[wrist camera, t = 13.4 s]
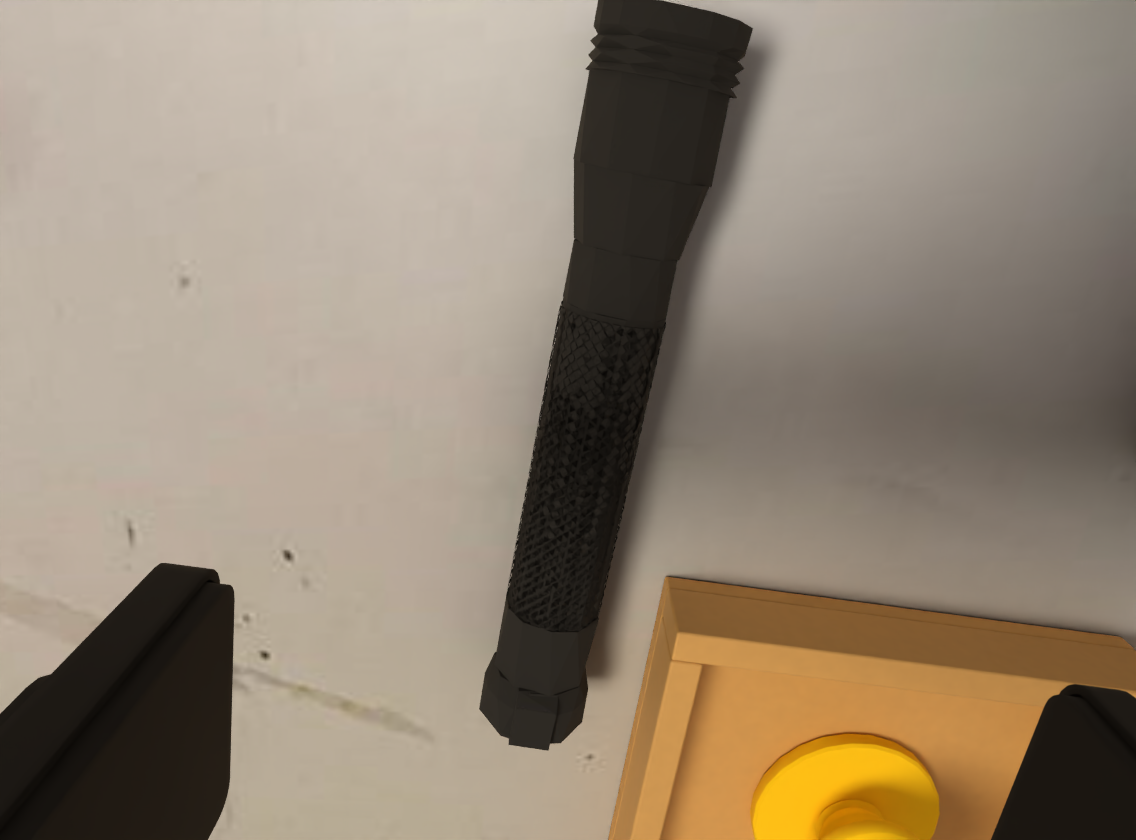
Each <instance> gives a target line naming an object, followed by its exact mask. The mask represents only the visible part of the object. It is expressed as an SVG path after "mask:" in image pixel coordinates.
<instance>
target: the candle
mask: <svg viewBox="0 0 1136 840" xmlns="http://www.w3.org/2000/svg"><path fill="white" fill-rule="evenodd" d="M939 815H940V811H939V795H938V793H937V790H936V788H935V785H934V783H933V781H932V778H931V776H930V775H929V773H928V771H927V769H926V768H925V766H924V765H923V764H922V763H921V762H920V761H919V760H918V759H917V757H916V756H915V755H914V754H913V753H912V752H910V751H908V750H907V749H905V748H903V747H902V746H900V745H899V744H897V743H895V742H893V741H890V740H886V739H883V738H880V737H876V736H873V735H862V734H839V735H833V736H826V737H821V738H818V739H816V740H813V741H810V742H808V743H805V744H802V745H799V746H798V747H796V748H795V749H793V750H792V751H790V752H789V753H787V754H785V755H784V756H782V757H781V758H779V759H778V760H777V761H776V762H775V763H774V764H773V766H772V767H771V768H770V769H769V770H768V771H767V772H766V773H765V774H764V775H763V777H762V778H761V780H760V782H759V784H758V786H757V788H756V790H755V791H754V793H753V798H752V803H751V809H750V817H751V824H752V831H753V835H754V838H755V840H930V839H931V837H932V836H933V834H934V832H935V829H936V825H937V822H938V819H939Z"/></svg>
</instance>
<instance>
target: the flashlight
mask: <svg viewBox="0 0 1136 840" xmlns="http://www.w3.org/2000/svg"><path fill="white" fill-rule="evenodd" d="M594 27H595V29H596V31H597V33H598V35H597V36H595V37H594V38H593V39H592V40H590V41H591V42H592V43H593V44H594V45H595V47H596V48H595V49H594V50H593V51H592V52H591V53H590V54H589V56H590V58H591V59H592V60H593V61H592V62H591V63H590V64H589V66H588V67H587V68H586V70H590V72H589V77H588V83H587V88H586V94H585V99H584V105H583V110H582V115H581V121H580V126H579V132H578V137H577V143H576V148H575V154H574V159H575V160H574V238H575V240H574V244H573V249H572V254H571V259H570V264H569V269H568V274H567V279H566V284H565V289H564V294H563V297H564V298H563V301H562V302H561V305H562V306H560V309H559V312H560V313H558V319H559V320H557V324H556V329H555V333H556V335H555V334H554V338H556V341H555V339H554V340H553V345H554V349H553V348H552V349H553V351H554V352H553V351H552V352H551V356H552V359H551V356H550V361H549V367H550V370H548V371H549V373H548V374H549V378H548V374H547V378H548V380H547V378H546V383H545V389H546V387H547V389H546V391H545V392H544V395H543V400H542V401H544V402H543V404H542V406H541V412H540V414H542V415H540V416H541V420H540V417H539V421H538V423H539V425H540V426H538V428H537V432H536V434H537V436H538V437H536V439H535V444H534V448H535V449H534V450H535V451H534V450H533V452H534V453H533V456H534V458H533V459H532V460H533V462H532V461H531V462H532V463H531V464H530V466H531V467H532V469H530V471H531V472H530V471H529V473H530V475H529V477H530V478H529V479H528V482H529V483H528V482H527V487H528V488H527V491H526V493H525V496H524V498H525V497H526V495H527V497H526V499H525V501H524V503H523V508H524V512H523V511H522V515H521V518H520V523H519V529H520V530H519V529H518V530H519V531H520V532H519V531H518V536H519V537H518V536H517V538H518V540H517V543H516V546H517V549H516V552H515V553H514V554H515V555H516V556H515V555H514V556H515V559H514V557H513V559H514V560H513V563H512V567H513V569H511V573H510V577H511V574H512V577H511V579H510V580H509V581H510V582H509V583H510V586H509V588H508V591H507V594H506V595H507V596H506V602H505V607H504V613H503V619H502V624H501V630H500V636H499V641H498V647H497V652H495V653H494V655H493V657H492V660H491V662H490V664H489V666H488V668H487V670H486V672H485V677H484V683H483V689H482V696H481V702H480V708H479V709H480V710H481V712H482V713H483V714H484V715H485V717H486V718H487V719H488V720H489V722H490V723H491V724H492V725H493V727H494V728H495V729H496V730H497V732H498V733H499V734H500V735H501V736H504V737H507V738H509V745H515V746H521V747H528V748H535V749H541V750H549V745H550V744H552V743H561V742H562V741H563V740H564V739H565V738H566V737H567V736H568V735H569V734H570V733H571V732H572V731H573V730H574V729H575V728H576V727H577V726H578V725H579V724H580V723H581V722H582V719H583V713H584V708H585V702H586V697H587V692H588V684H587V677H586V669H585V665H586V661H587V658H588V654H589V651H590V647H591V644H592V640H593V637H594V633H595V630H596V626H597V622H598V619H599V618H598V615H599V614H598V612H600V611H599V610H600V609H599V608H601V606H600V603H602V602H601V601H602V599H603V597H602V596H604V592H603V591H604V590H605V588H604V586H605V587H606V585H605V583H606V582H607V580H606V577H607V578H608V576H607V573H608V572H609V569H610V564H611V560H612V558H613V551H614V549H615V547H614V545H615V544H614V543H615V542H616V540H615V538H616V539H617V535H616V534H617V533H618V530H619V528H620V527H619V526H618V525H620V521H621V519H622V512H623V510H622V508H623V509H624V505H623V504H624V503H625V501H626V500H625V499H626V497H625V494H626V493H627V491H628V485H629V481H630V478H631V473H632V469H633V466H634V465H633V464H634V460H635V456H636V451H637V447H638V444H639V443H638V442H639V440H638V439H639V436H640V433H641V430H642V424H643V421H644V414H645V411H646V408H647V402H648V399H649V393H650V389H651V382H652V380H653V377H654V372H655V367H656V365H657V357H658V355H659V352H660V348H659V347H660V345H661V342H662V336H663V333H664V329H665V326H666V322H665V320H666V315H667V310H668V305H669V300H670V294H671V289H672V284H673V279H674V274H675V269H676V264H677V260H679V259H680V257H681V254H682V252H683V249H684V247H685V245H686V242H687V240H688V237H689V235H690V232H691V230H692V228H693V225H694V223H695V220H696V218H697V215H698V213H699V211H700V208H701V206H702V203H703V201H704V198H705V196H706V194H707V191H708V189H709V187H711V186H712V181H713V176H714V171H715V166H716V162H717V157H718V152H719V147H720V142H721V137H722V132H723V127H724V122H725V117H726V112H727V108H728V103H729V98H737V97H736V96H735V94H734V92H733V91H732V89H731V88H733V87H735V86H737V85H738V84H740V82H739V81H738V79H737V77H736V76H735V75H736V74H737V73H739V72H740V71H742V70H743V69H744V68H743V67H742V65H741V64H740V63H739V62H738V61H739V60H741V59H742V58H743V57H744V56H745V53H746V50H747V46H748V43H749V40H750V36H751V33H752V29H753V28H751V27H749V26H748V25H746V24H744V23H743V22H741V21H739V20H736V19H733V18H730V17H727V16H724V15H721V14H718V13H715V12H711V11H706V10H702V9H697V8H693V7H688V6H684V5H679V4H675V3H670V2H666V1H660V0H598V5H597V11H596V16H595V22H594ZM561 308H562V309H561ZM559 316H560V318H559ZM557 327H558V330H557ZM554 342H555V344H554ZM553 345H552V346H553ZM552 353H553V355H552ZM550 363H551V366H550ZM549 367H548V369H549ZM545 389H544V390H545ZM544 399H545V400H544ZM535 446H536V447H535ZM524 506H525V507H524ZM523 508H522V510H523ZM620 518H621V519H620ZM521 519H522V520H521ZM521 521H522V523H521ZM520 527H521V528H520ZM517 544H518V545H517ZM516 546H515V548H516ZM613 547H614V549H613ZM513 564H514V566H513ZM512 567H511V568H512ZM508 585H509V584H508ZM601 605H602V604H601Z"/></svg>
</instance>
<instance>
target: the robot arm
mask: <svg viewBox="0 0 1136 840" xmlns="http://www.w3.org/2000/svg"><path fill="white" fill-rule="evenodd" d="M233 635H234V590H233V587H232V586H231V585H226V584H220V579H219V576H218V573H217V572H216V571H215V570H214V569H206V568H199V567H191V566H184V565H176V564H169V563H160V564H159V565H158V566H156V567H155V568H154V569H153V570H152V571H151V572H150V573H149V574H148V575H147V576H146V577H145V578H144V579H143V580H142V581H141V582H140V583H139V584H138V585H137V586H136V587H135V588H134V589H133V591H132V592H131V593H130V594H129V595H128V596H127V597H126V598H125V599H124V600H123V601H122V602H121V603H120V604H119V605H118V606H117V607H116V608H115V609H114V610H113V611H112V612H111V613H110V614H109V615H108V616H107V617H106V618H105V619H104V620H103V621H102V622H101V623H100V624H99V626H98V627H97V628H96V629H95V630H94V631H93V632H92V633H91V634H90V635H89V636H88V637H87V638H86V639H85V640H84V641H83V642H82V643H81V644H80V645H79V646H78V647H77V648H76V649H75V650H74V651H73V652H72V653H71V654H70V655H69V656H68V657H67V658H66V660H65V661H64V662H63V663H62V664H61V665H60V666H59V667H58V668H57V669H56V670H55V671H54V672H53V673H52V674H51V675H47V676H43V677H40V678H38V679H37V680H35V681H34V682H33V683H32V684H30V685H29V686H28V687H26V689H25V690H24V691H23V692H22V693H21V694H20V695H19V696H18V697H17V698H16V699H15V700H14V701H13V702H12V703H11V704H10V705H9V706H8V707H7V708H6V709H5V710H4V711H3V712H2V713H1V714H0V840H208V838H209V836H210V834H211V833H212V831H213V829H214V827H215V825H216V823H217V821H218V819H219V817H220V815H221V812H222V810H223V807H224V804H225V801H226V798H227V794H228V789H229V782H230V755H231V715H232V675H233ZM991 840H1136V698H1135V697H1134V696H1132V695H1131V694H1129V693H1128V692H1126V691H1122V690H1117V689H1109V688H1102V687H1094V686H1087V685H1079V684H1072V685H1068V686H1066V687H1065V688H1064V689H1063V690H1061V692H1060V694H1059V695H1054V696H1052V697H1051V698H1049V699H1048V701H1047V702H1046V704H1045V706H1044V708H1043V711H1042V713H1041V716H1040V718H1039V721H1038V723H1037V726H1036V728H1035V731H1034V733H1033V736H1032V738H1031V741H1030V743H1029V746H1028V748H1027V751H1026V753H1025V756H1024V758H1023V761H1022V763H1021V766H1020V768H1019V771H1018V773H1017V776H1016V778H1015V781H1014V783H1013V786H1012V788H1011V791H1010V793H1009V796H1008V798H1007V801H1006V803H1005V806H1004V808H1003V810H1002V813H1001V815H1000V818H999V820H998V823H997V825H996V828H995V830H994V833H993V835H992V838H991Z"/></svg>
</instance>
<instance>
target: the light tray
mask: <svg viewBox="0 0 1136 840" xmlns="http://www.w3.org/2000/svg"><path fill="white" fill-rule="evenodd" d="M1072 684H1079V685H1087V686H1094V687H1102V688H1109V689H1117V690H1122V691H1126V692H1128V693H1129V694H1131V695H1132V696H1134V697H1135V698H1136V651H1135V650H1134V649H1133V647H1132V646H1130V645H1129V644H1128V643H1127V642H1126V641H1125V640H1124V639H1123V638H1121V637H1117V636H1110V635H1102V634H1095V633H1087V632H1080V631H1072V630H1065V629H1057V628H1049V627H1042V626H1034V625H1027V624H1019V623H1012V622H1004V621H997V620H989V619H982V618H974V617H967V616H959V615H951V614H944V613H936V612H929V611H921V610H914V609H906V608H899V607H891V606H884V605H876V604H869V603H861V602H853V601H846V600H838V599H831V598H823V597H816V596H808V595H801V594H793V593H786V592H778V591H770V590H763V589H755V588H748V587H740V586H733V585H725V584H718V583H710V582H703V581H695V580H688V579H680V578H672V577H666V578H665V580H664V585H663V590H662V594H661V599H660V603H659V608H658V613H657V617H656V622H655V626H654V631H653V636H652V640H651V645H650V649H649V654H648V659H647V663H646V668H645V672H644V677H643V682H642V686H641V691H640V695H639V700H638V705H637V709H636V714H635V718H634V723H633V728H632V732H631V737H630V742H629V746H628V751H627V755H626V760H625V765H624V769H623V774H622V778H621V783H620V788H619V792H618V797H617V801H616V806H615V811H614V815H613V820H612V824H611V829H610V834H609V838H608V840H755V838H754V835H753V831H752V824H751V817H750V809H751V803H752V798H753V793H754V791H755V790H756V788H757V786H758V784H759V782H760V780H761V778H762V777H763V775H764V774H765V773H766V772H767V771H768V770H769V769H770V768H771V767H772V766H773V764H774V763H775V762H776V761H777V760H778V759H779V758H781V757H782V756H784V755H785V754H787V753H789V752H790V751H792V750H793V749H795V748H796V747H798V746H799V745H802V744H805V743H808V742H810V741H813V740H816V739H818V738H821V737H826V736H833V735H839V734H862V735H873V736H876V737H880V738H883V739H886V740H890V741H893V742H895V743H897V744H899V745H900V746H902V747H903V748H905V749H907V750H908V751H910V752H912V753H913V754H914V755H915V756H916V757H917V759H918V760H919V761H920V762H921V763H922V764H923V765H924V766H925V768H926V769H927V771H928V773H929V775H930V776H931V778H932V781H933V783H934V785H935V788H936V790H937V793H938V795H939V811H940V815H939V819H938V822H937V825H936V829H935V832H934V834H933V836H932V837H931V839H930V840H991V838H992V835H993V833H994V830H995V828H996V825H997V823H998V820H999V818H1000V815H1001V813H1002V810H1003V808H1004V806H1005V803H1006V801H1007V798H1008V796H1009V793H1010V791H1011V788H1012V786H1013V783H1014V781H1015V778H1016V776H1017V773H1018V771H1019V768H1020V766H1021V763H1022V761H1023V758H1024V756H1025V753H1026V751H1027V748H1028V746H1029V743H1030V741H1031V738H1032V736H1033V733H1034V731H1035V728H1036V726H1037V723H1038V721H1039V718H1040V716H1041V713H1042V711H1043V708H1044V706H1045V704H1046V702H1047V701H1048V699H1049V698H1051V697H1052V696H1054V695H1059V694H1060V692H1061V690H1063V689H1064V688H1065V687H1066V686H1068V685H1072Z"/></svg>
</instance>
